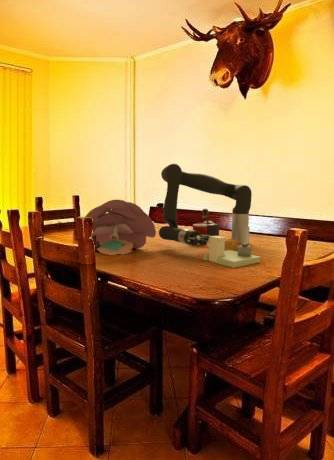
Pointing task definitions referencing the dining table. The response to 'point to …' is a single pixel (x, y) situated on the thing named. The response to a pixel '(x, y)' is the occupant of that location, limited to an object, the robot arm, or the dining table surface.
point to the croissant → (232, 245)
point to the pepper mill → (210, 225)
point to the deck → (237, 257)
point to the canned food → (200, 228)
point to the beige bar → (216, 247)
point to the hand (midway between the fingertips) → (213, 241)
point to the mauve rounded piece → (120, 227)
